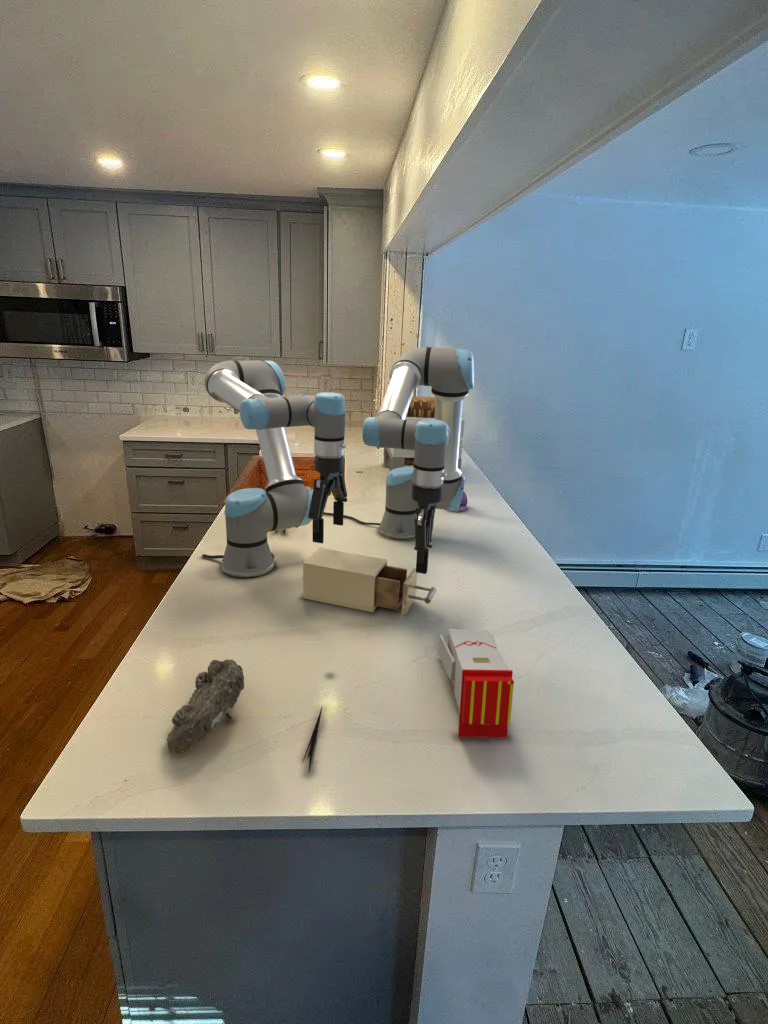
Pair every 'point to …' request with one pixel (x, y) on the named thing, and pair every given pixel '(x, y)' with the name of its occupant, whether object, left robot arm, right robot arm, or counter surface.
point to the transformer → (417, 411)
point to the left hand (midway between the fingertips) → (328, 533)
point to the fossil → (206, 705)
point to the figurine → (462, 502)
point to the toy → (478, 682)
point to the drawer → (398, 589)
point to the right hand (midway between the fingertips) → (421, 572)
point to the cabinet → (341, 578)
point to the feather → (313, 740)
